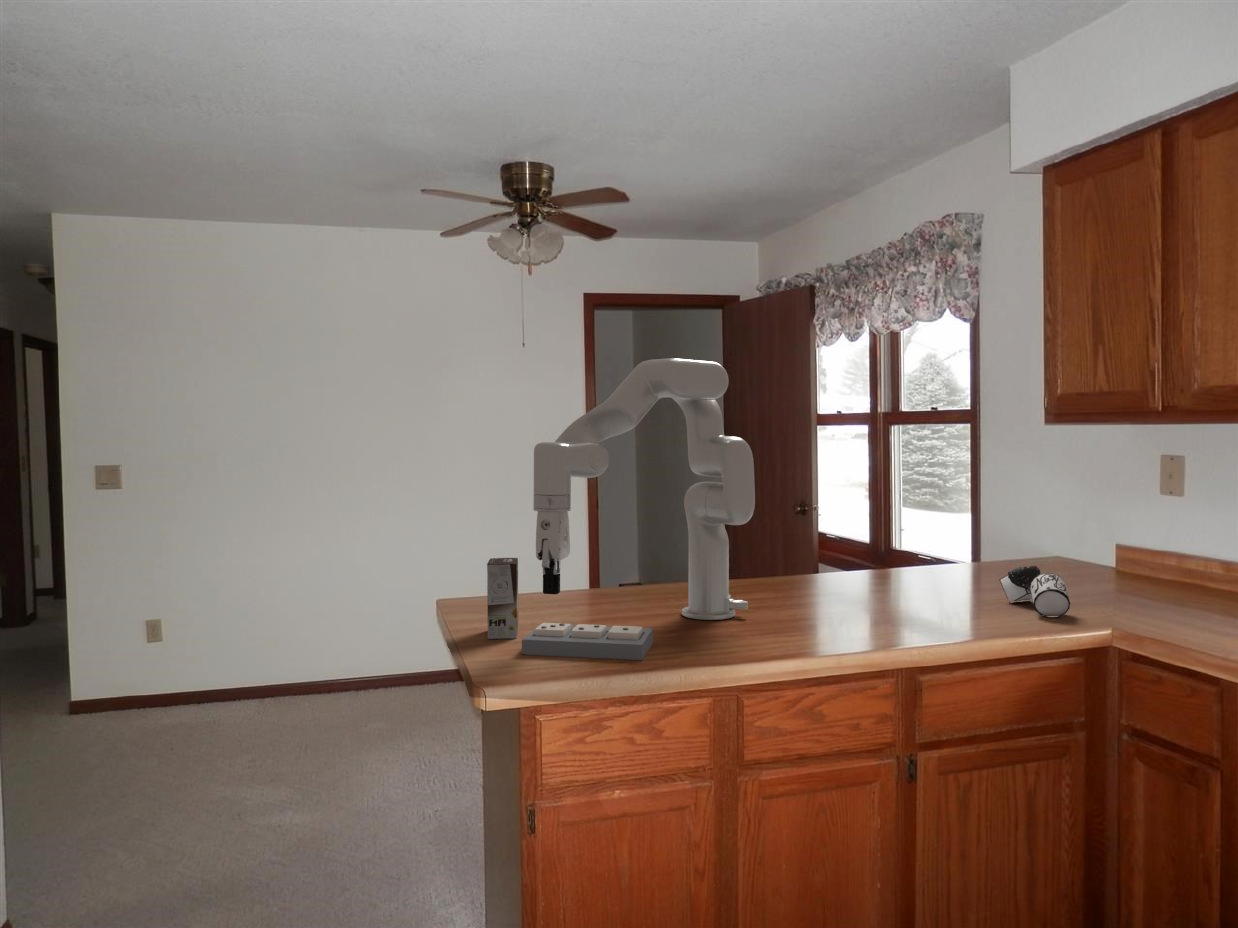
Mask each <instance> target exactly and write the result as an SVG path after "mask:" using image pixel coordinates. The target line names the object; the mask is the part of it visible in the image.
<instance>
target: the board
mask: <svg viewBox="0 0 1238 928" xmlns="http://www.w3.org/2000/svg"><path fill="white" fill-rule="evenodd" d="M541 624H542V623H540V624H539V625H541ZM577 625H578V624H577ZM577 625H576V624H575V625H573V624H571V630H572V629H573V628H575V627H576V626H577ZM612 627H613V626H607V633H606V635H605V636H604V637H603V638H579V637H571V632H570V633H569V634H568V635H567V636H566V637H556V636H535V629H536V628H537V627H535V628H534V629H533V630H532V631H530V632H529V634H527V635H526V636H525V637H523V638H522V639H521V655H522V654H525V655H526V656H542V657H543V656H544V657H545V656H546V657H547V656H548V657H567V658H568V657H569V658H586V659H587V658H588V659H589V658H590V659H606V660H607V659H609V660H610V659H611V660H631V661H633V660H634V661H643V660H644V658H645V656H646V655H647V653H648V652H649V650H650V648H651V647H652V645H653V643H654V628H652V627H650V628H648V627H643V636H642V637H641V639H640V640H626V639H608V632H609V631H610V629H611V628H612ZM525 655H524V656H525Z"/></svg>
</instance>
